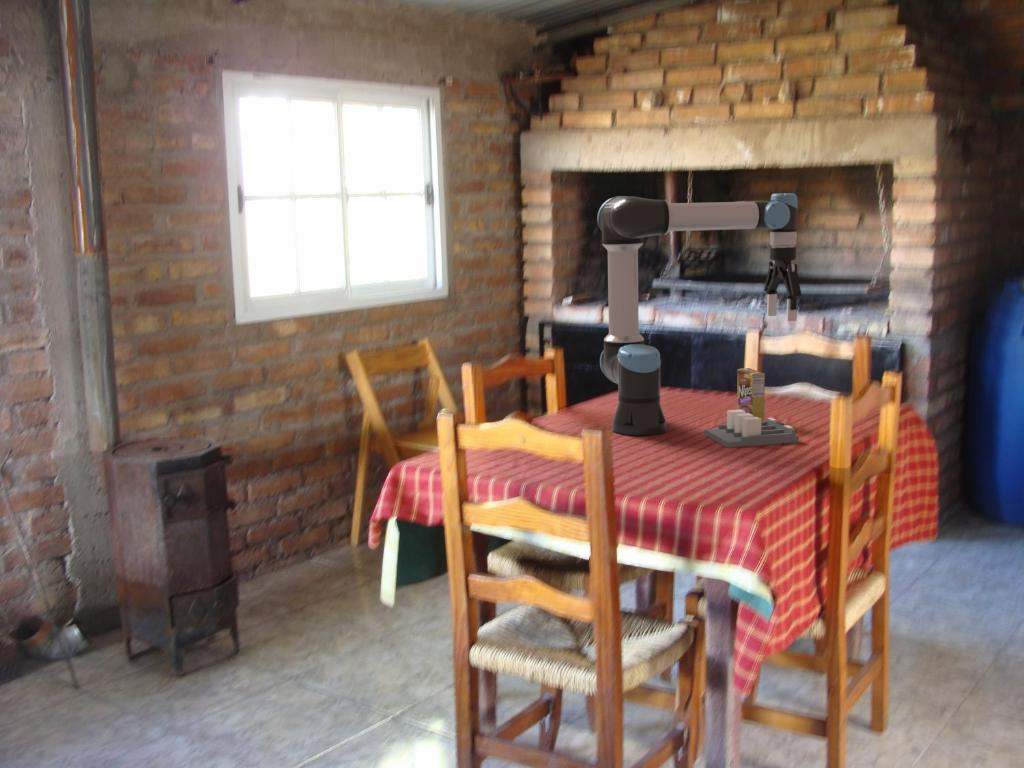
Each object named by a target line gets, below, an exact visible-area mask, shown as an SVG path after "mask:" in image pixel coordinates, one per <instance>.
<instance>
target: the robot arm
mask: <svg viewBox="0 0 1024 768" xmlns="http://www.w3.org/2000/svg"><path fill="white" fill-rule="evenodd" d="M798 207H799V206H798V196H797V194H796V193H793V192H792V193H791V192H788V193H786V192H785V193H783V192H782V193H772V194H771V196H770V200H742V201H741V200H740V201H727V202H726V201H723V202H721V201H719V202H680V203H679V202H673V203H670V202H668V200H667V199H652V198H651V199H650V198H646V197H645V198H644V197H639V196H626V195H618V196H614V197H611V198H608V199H607V200H605V202H603V203H602V204H601V206H600V207H599V210H598V212H597V219H596V220H597V225H598V227H599V229H600V231H601V242H602V243H601V244H602V246H603V247H604V248H605V249H606V251H607V287H608V288H607V293H608V294H607V295H608V296H607V298H608V299H607V300H608V301H607V302H608V334H607V335H606V336H605V337H604V339H603V350H602V352H601V353H600V357H599V366H600V369H601V371H602V373H603V374H604V376H605V377H606V378H607V380H609V381H610V382H612V383H614V384H616V385H618V388H617V389H618V391H617V392H618V402H617V406H616V410H615V411H614V412H615V413H614V416H613V419H612V423H611V424H612V425H611V426H612V429H611V430H612V431H613V432H615V433H617V434H622V435H629V436H652V435H657V434H662V433H665V432H666V431H667V420H666V417H665V414H664V410H663V408H662V404H661V364H662V359H661V354H660V351H659V350H658V349H657V348H656V347H654V346H653V345H652V346H651V345H647V344H645V338H644V336H642V335H641V334H640V332H639V331H640V329H639V327H640V326H639V325H640V324H639V321H640V320H639V249H640V248H641V247H642V246H643V245H644V238H646V237H652V236H653V237H654V236H666V235H667V234H668V233H669V232H685V231H686V232H687V231H693V232H694V231H718V230H719V231H720V230H722V231H725V230H727V231H728V230H751V229H752V230H755V229H756V230H759V229H760V230H761V229H762V230H764V229H767V230H768V229H770V230H769V231H770V232H769V233H770V235H769V236H770V237H769V245H770V246H771V247H770V248H769V259H770V260H771V261H769V264H768V271H767V275H766V279H765V284H764V287H763V290H764V292H766V294H767V307H766V310H767V311H766V313H767V314H766V316H767V317H776V316H777V313H778V311H777V309H778V307H777V306H778V291H777V290H778V288H779V285H780V283H781V281H783V283H784V286H785V289H786V293H787V297H786V299H787V301H786V302H787V303H786V321H787V322H797V317H798V315H797V314H798V299H799V298H801V297H802V290H801V286H800V280H799V273H798V265H797V264H798V263H792V261H795V260H796V259H797V247H795V246H797V238H798V234H797V233H798V232H797V231H798V229H797V228H798V209H799V208H798Z"/></svg>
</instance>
